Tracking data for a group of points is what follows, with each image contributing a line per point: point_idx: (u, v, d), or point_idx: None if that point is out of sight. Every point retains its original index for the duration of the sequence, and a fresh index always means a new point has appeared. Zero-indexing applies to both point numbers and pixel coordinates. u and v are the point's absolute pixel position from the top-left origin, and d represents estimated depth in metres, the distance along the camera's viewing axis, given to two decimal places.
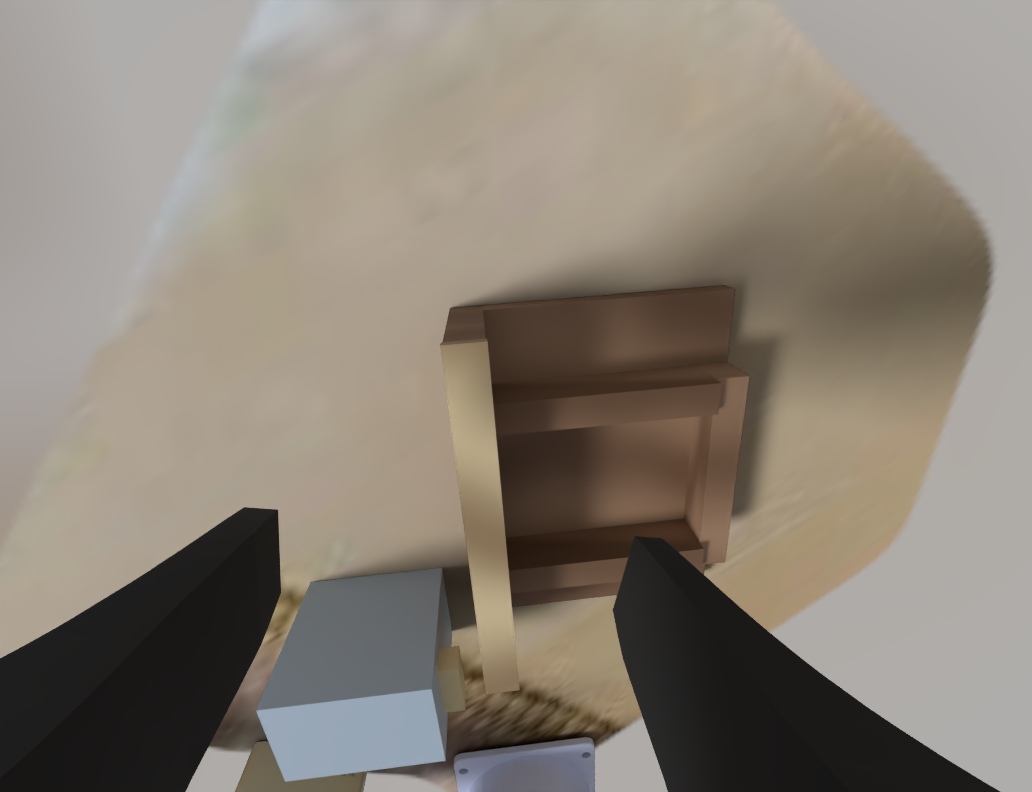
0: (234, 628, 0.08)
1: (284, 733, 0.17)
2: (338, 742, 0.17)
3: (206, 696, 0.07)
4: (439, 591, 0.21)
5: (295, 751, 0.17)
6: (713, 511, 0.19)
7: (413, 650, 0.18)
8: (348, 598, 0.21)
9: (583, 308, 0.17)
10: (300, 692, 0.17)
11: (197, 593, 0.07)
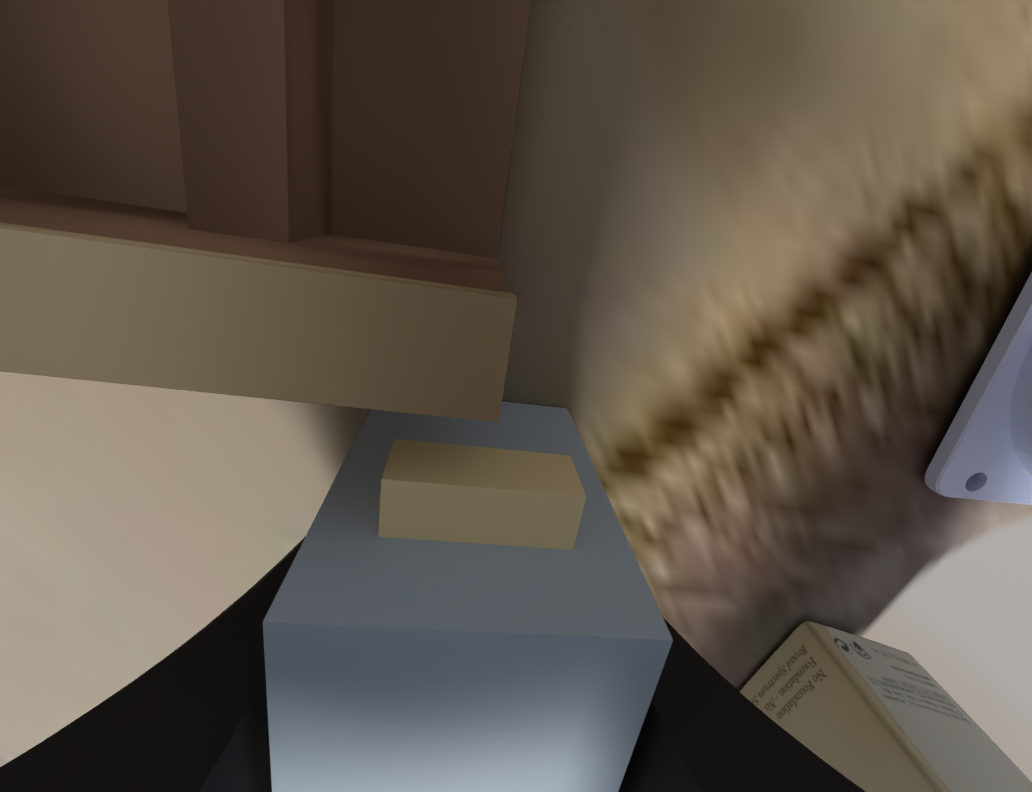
0: None
1: None
2: None
3: None
4: (367, 418, 0.09)
5: None
6: None
7: None
8: None
9: None
10: None
11: None
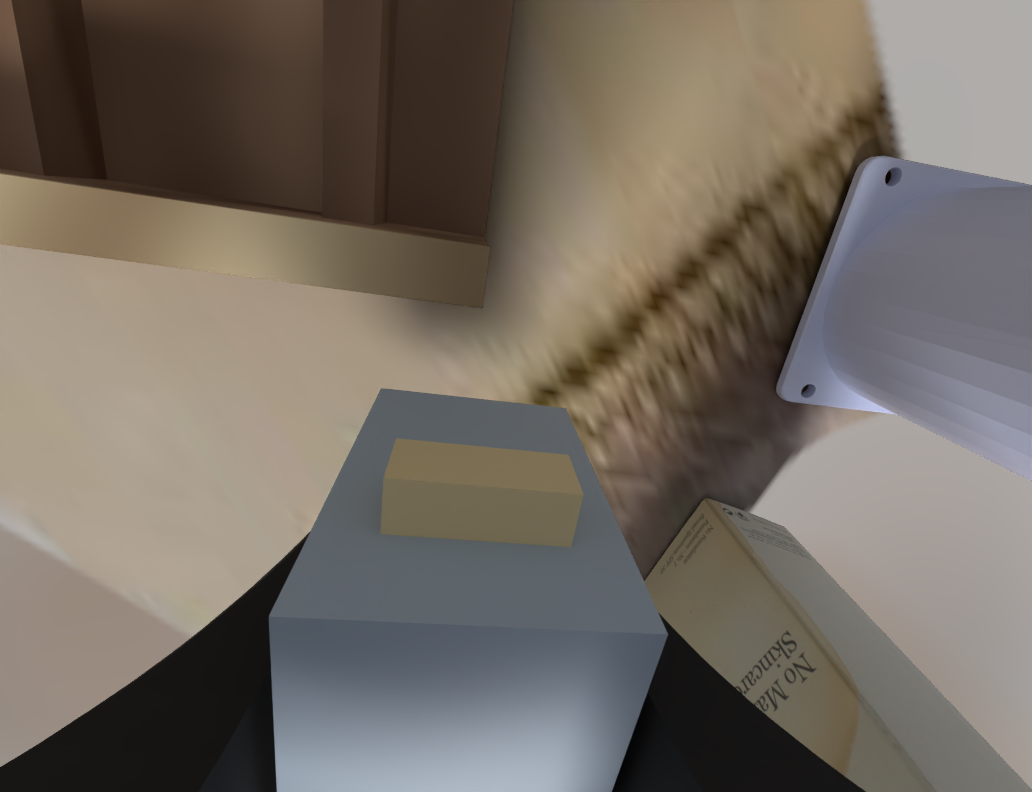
0: None
1: None
2: None
3: None
4: (368, 418, 0.09)
5: None
6: None
7: None
8: None
9: None
10: None
11: None
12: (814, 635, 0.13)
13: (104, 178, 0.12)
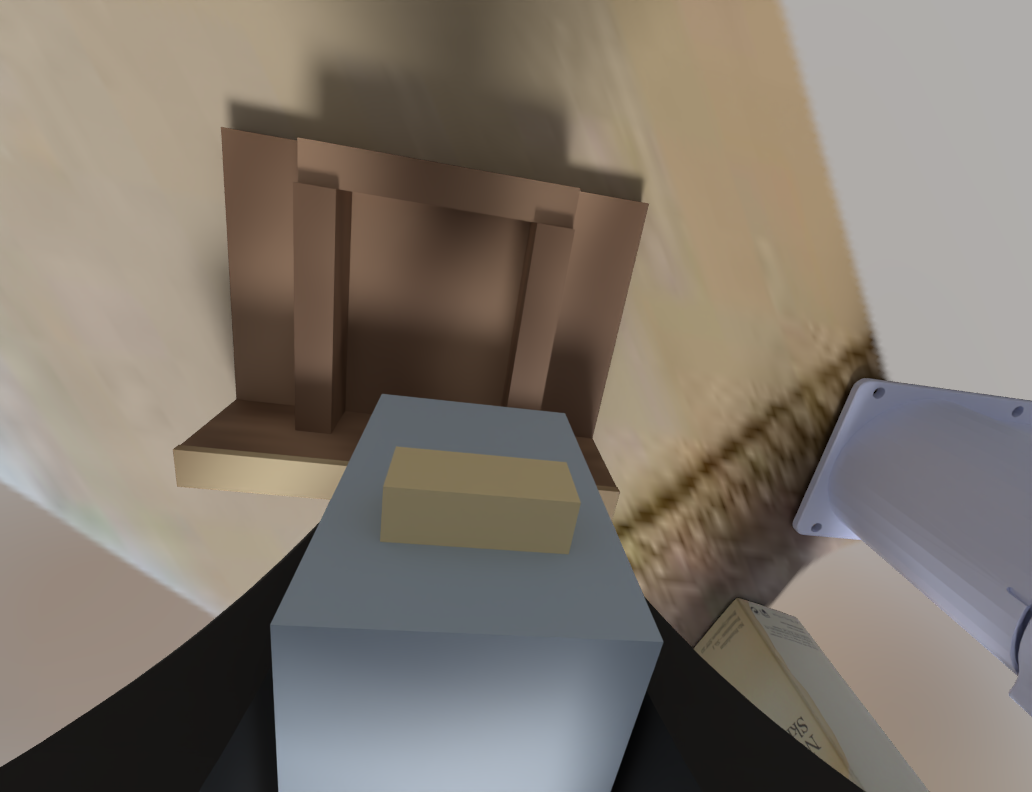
0: None
1: None
2: None
3: None
4: (369, 424, 0.09)
5: None
6: (491, 199, 0.15)
7: None
8: None
9: (238, 306, 0.17)
10: None
11: None
12: (820, 722, 0.19)
13: (344, 411, 0.19)
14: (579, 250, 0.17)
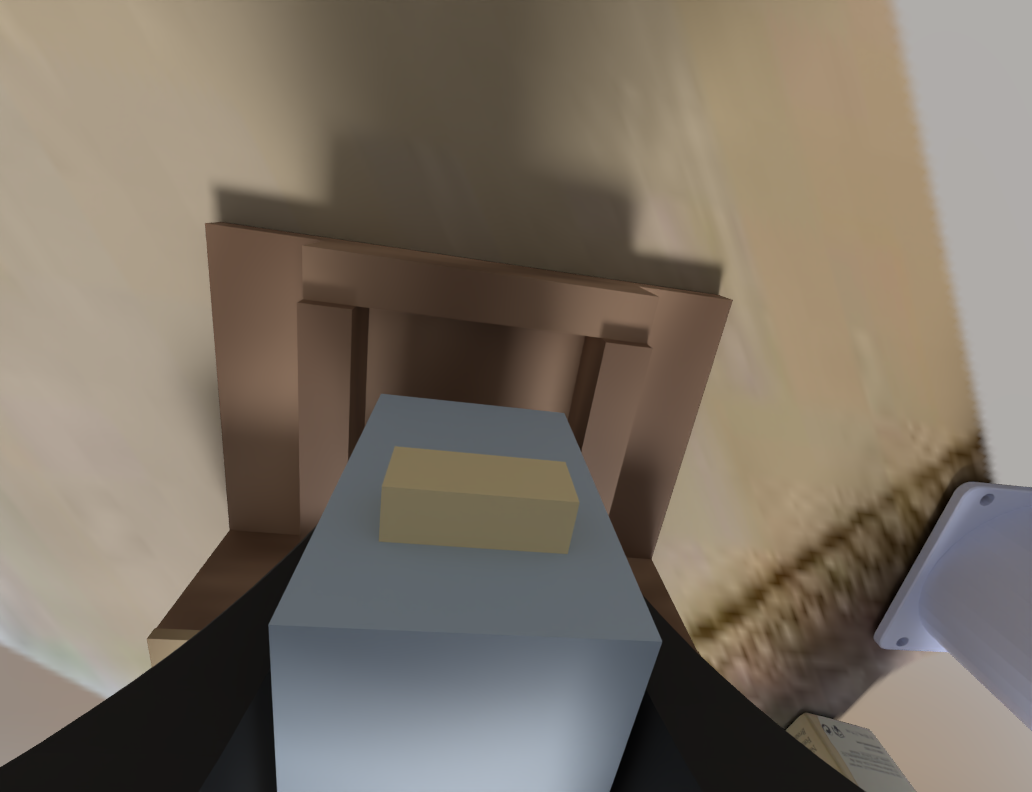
0: None
1: None
2: None
3: None
4: (368, 424, 0.09)
5: None
6: (547, 313, 0.12)
7: None
8: None
9: (230, 428, 0.14)
10: None
11: None
12: None
13: None
14: None
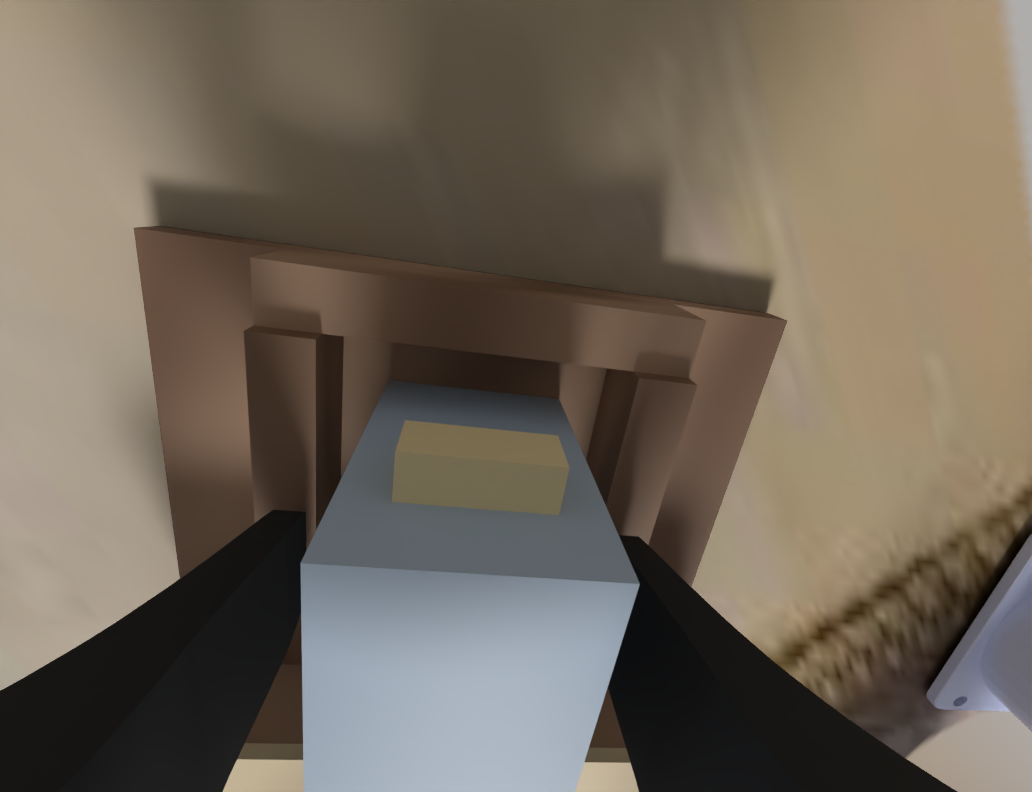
0: (267, 630, 0.08)
1: None
2: (459, 772, 0.07)
3: (242, 697, 0.07)
4: (378, 406, 0.10)
5: None
6: (565, 341, 0.09)
7: None
8: None
9: (177, 475, 0.11)
10: None
11: (236, 595, 0.07)
12: None
13: None
14: None
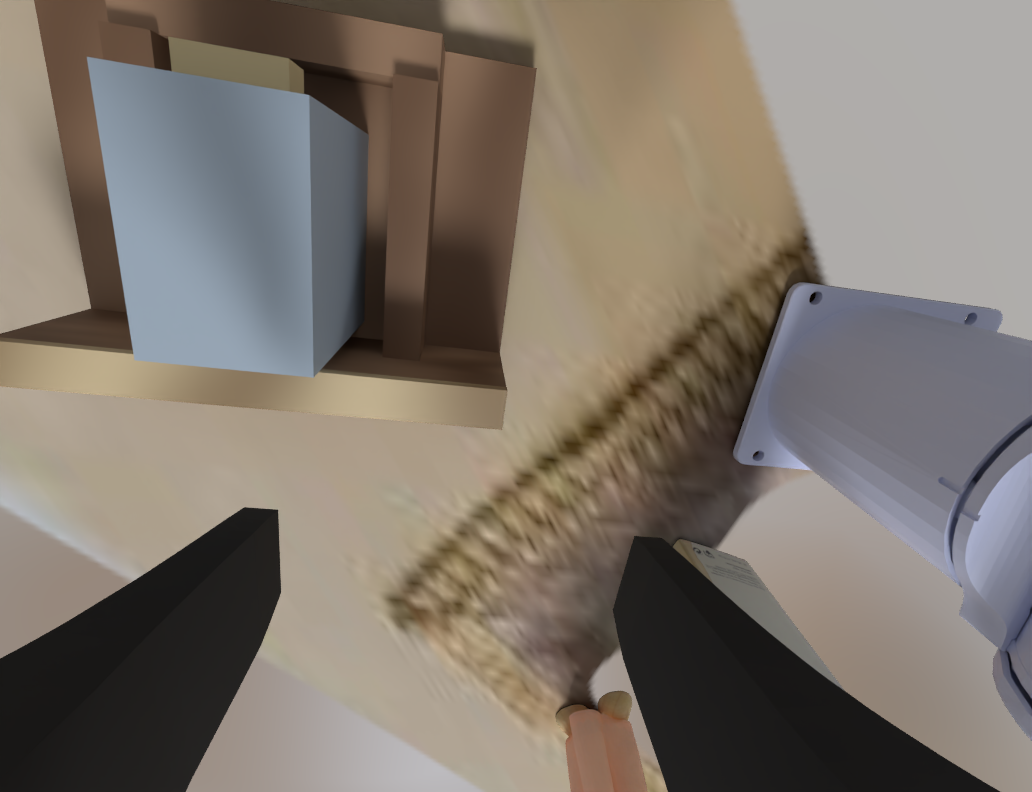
0: (234, 628, 0.08)
1: (192, 340, 0.11)
2: (226, 270, 0.11)
3: (206, 696, 0.07)
4: None
5: (241, 339, 0.11)
6: (339, 48, 0.13)
7: None
8: None
9: (78, 195, 0.15)
10: None
11: (197, 593, 0.07)
12: None
13: None
14: (463, 126, 0.15)
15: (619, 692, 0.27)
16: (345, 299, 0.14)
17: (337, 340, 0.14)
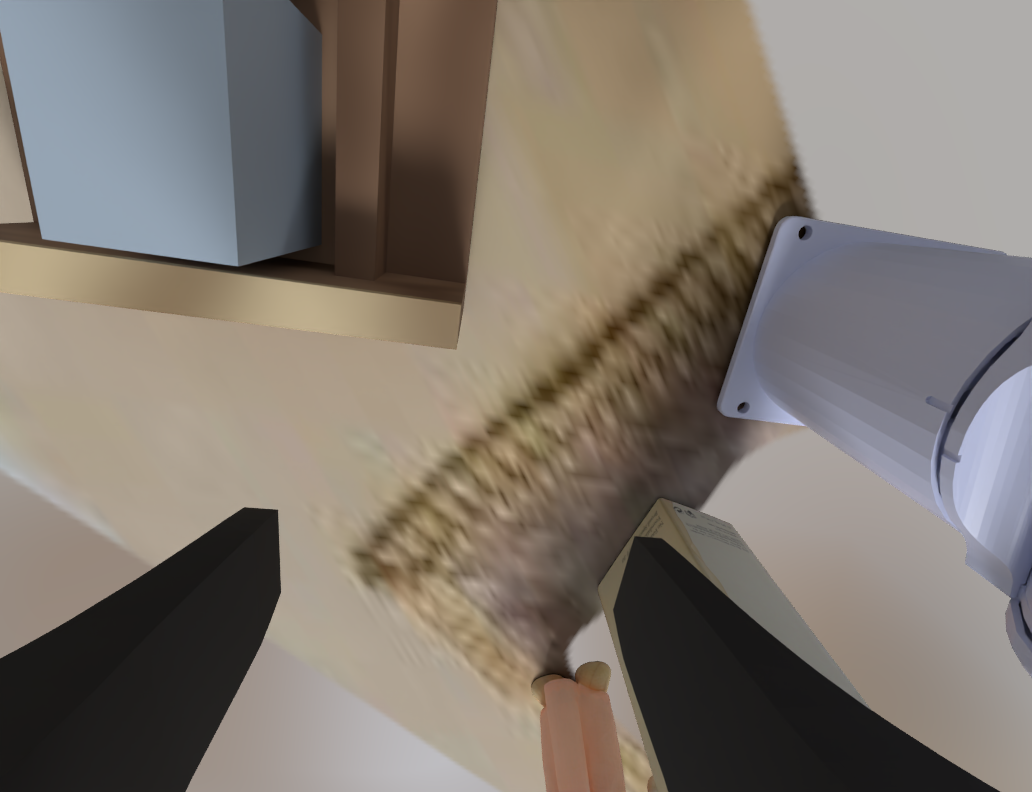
0: (234, 628, 0.08)
1: (104, 217, 0.10)
2: (136, 135, 0.10)
3: (206, 696, 0.07)
4: None
5: (157, 219, 0.10)
6: None
7: None
8: None
9: None
10: None
11: (197, 593, 0.06)
12: None
13: None
14: (423, 27, 0.14)
15: (597, 662, 0.26)
16: (289, 203, 0.13)
17: (277, 243, 0.13)
